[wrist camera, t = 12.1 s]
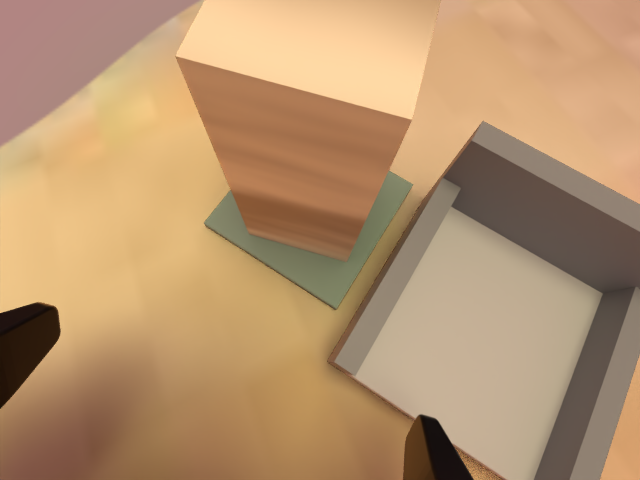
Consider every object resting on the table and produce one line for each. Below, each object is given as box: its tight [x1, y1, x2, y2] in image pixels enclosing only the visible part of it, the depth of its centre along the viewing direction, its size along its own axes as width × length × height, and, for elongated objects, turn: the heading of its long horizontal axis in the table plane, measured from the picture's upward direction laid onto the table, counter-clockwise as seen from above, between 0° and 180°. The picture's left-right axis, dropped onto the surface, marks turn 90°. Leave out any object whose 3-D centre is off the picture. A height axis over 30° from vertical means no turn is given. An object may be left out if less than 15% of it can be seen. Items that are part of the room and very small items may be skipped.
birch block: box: [175, 0, 441, 262], centre depth 12 cm, size 4×4×10 cm
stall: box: [327, 121, 640, 480], centre depth 13 cm, size 9×9×6 cm
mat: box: [204, 171, 413, 310], centre depth 17 cm, size 7×7×1 cm
